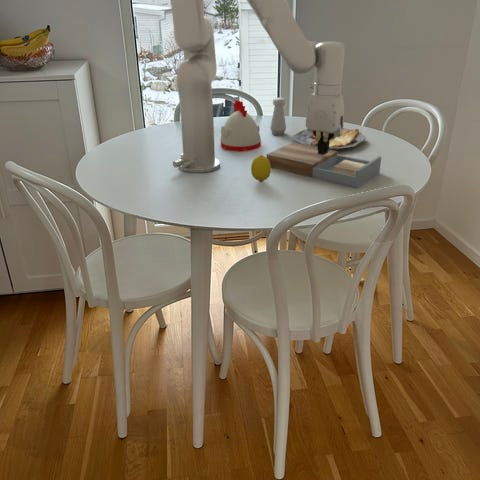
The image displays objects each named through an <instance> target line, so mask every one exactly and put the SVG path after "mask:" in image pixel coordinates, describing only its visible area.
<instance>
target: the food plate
mask: <svg viewBox="0 0 480 480" xmlns="http://www.w3.org/2000/svg"><path fill="white" fill-rule="evenodd" d="M324 135H325V132H324ZM292 139H293V141H294V142H296V143H297V142H298V144H303V145H308V146H313V147H318V141H317V139H316V136H315V135H314V134H313V133H311V132H309V131H308V130H307V128H306V129H303V130H301V131H299V132H297V133H296V134H294V135H292ZM365 140H366V136H365V135H364V134H362V132H360V130H359V129H358V128H356V129H348V128H344V127H343V128H342V135H341V136H339V137H333V138H332V139H331V140H330V143H329V150H334V151H338V150H339V149H340V150H342V149H344V148H345V149H346V148H351V147H352V148H353V147H356V146H358V145H359V144H360V143H362V142H364V141H365Z"/></svg>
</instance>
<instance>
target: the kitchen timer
mask: <svg viewBox="0 0 480 480" xmlns="http://www.w3.org/2000/svg"><path fill="white" fill-rule="evenodd" d="M243 104H244V103H243V101H241V100H236V99H235V101H234V102H233V104H232V105H233V108H234V112H233V113H231V114H230V115H229V116H228V118H227V119H226V121H225V122H224V124H223V125H221V129H220V135H221V136H220V148H222V149H224V150H225V151H231V152H249V151H253V150H257V149H259V148H260V147H261V146H262V142H261V141H262V139H261V135H260V124H257V123H256V121H255V120H254V118H253V117H252V116H251V114H250V113H248V110H245V109H246V106H245V105H243Z"/></svg>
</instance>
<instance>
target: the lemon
mask: <svg viewBox="0 0 480 480" xmlns="http://www.w3.org/2000/svg"><path fill="white" fill-rule="evenodd" d="M250 166H251V167H250V169H251V170H250V171H251V175H252V177H253V178H254V179H255V180H256V181H258V182H259V183H263V181H265V180H268V178H269V177H270V176H271V172H272V171H271V170H272V168H271V164H270V161H269V160H268V158H267V156H265V155H263V154H260V155H258V156H256V157H255V158H254V159H253V160H252V163H251V165H250Z"/></svg>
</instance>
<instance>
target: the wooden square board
mask: <svg viewBox="0 0 480 480" xmlns="http://www.w3.org/2000/svg"><path fill="white" fill-rule="evenodd" d="M337 154H338V150H334V149H333V150H331V149H329V151H328V153H326V154H324V155H321V154H318V150H317V147H313V146H309V145H306V144H302V143H299V142H298V143H297V142H291V143H289V144H286V145H284V146H282V147H280V148H277V149H274V150H272V151H271V152H268V153H266V158H268V160H269V161H270V164H271V169H274V170H278V171H283V172H287V173H291V174H295V175H299V176H302V177H309V178H312V174H313V168H314V167H315V166H317V165H319V164H321V163H323V162H324V161H326V160H328V159H330V158H332V157H334V156H335V155H337ZM312 179H313V178H312Z"/></svg>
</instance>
